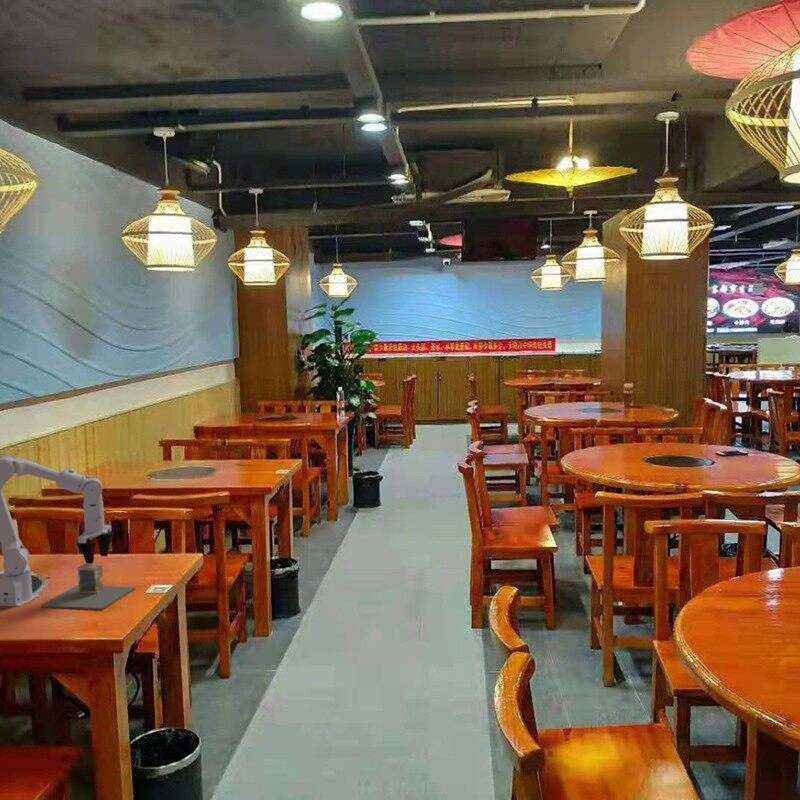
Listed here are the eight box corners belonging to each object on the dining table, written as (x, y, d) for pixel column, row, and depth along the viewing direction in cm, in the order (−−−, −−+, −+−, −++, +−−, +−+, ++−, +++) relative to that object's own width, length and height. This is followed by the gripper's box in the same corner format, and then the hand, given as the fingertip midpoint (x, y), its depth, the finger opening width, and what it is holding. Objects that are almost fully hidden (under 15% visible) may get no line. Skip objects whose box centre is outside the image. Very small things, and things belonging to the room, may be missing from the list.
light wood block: (96, 593, 231) (95, 568, 230) (79, 592, 232) (77, 567, 231) (103, 589, 234) (102, 564, 234) (86, 588, 235) (84, 563, 235)
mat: (102, 610, 218) (102, 608, 218) (41, 607, 222) (40, 605, 222) (135, 589, 236) (135, 587, 236) (77, 586, 240) (77, 585, 239)
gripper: (91, 523, 227) (94, 567, 228) (118, 511, 241) (121, 553, 242) (70, 522, 228) (73, 566, 229) (98, 511, 242) (101, 552, 244)
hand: (97, 559), depth 236 cm, fingers open, 7 cm apart
